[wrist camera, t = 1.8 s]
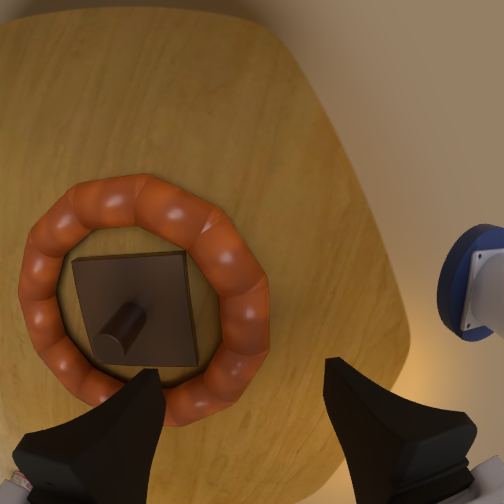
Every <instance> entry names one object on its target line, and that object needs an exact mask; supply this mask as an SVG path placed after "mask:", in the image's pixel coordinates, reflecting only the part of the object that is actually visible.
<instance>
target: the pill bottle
mask: <svg viewBox="0 0 504 504" xmlns="http://www.w3.org/2000/svg"><path fill="white" fill-rule="evenodd" d="M9 481H12V482H14V483H16V484H18V485H20V486H23V487H24V488H26V489H27V490H29V491H31V489H32V488H33V486H32V485H31V484H30V482H29V481H28V480H27V479H26V477H25V476H24V475H23V474H22V473H21V472H18V471H16V472H14V474H13V475H12V477H11V479H10V480H9Z"/></svg>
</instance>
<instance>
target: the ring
mask: <svg viewBox="0 0 504 504" xmlns="http://www.w3.org/2000/svg"><path fill="white" fill-rule="evenodd" d="M129 226H139V227H141V228H143V229H145V230H147V231H149V232H151V233H153V234H155V235H157V236H159V237H161V238H163V239H165V240H167V241H169V242H171V243H173V244H175V245H177V246H179V247H181V248H183V249H185V250H187V251H188V253H189V254H190V256H191V257H192V259H193V260H194V261H195V263H196V264H197V266H198V267H199V268H200V270H201V271H202V273H203V274H204V275H205V277H206V278H207V280H208V281H209V282H210V284H211V285H212V287H213V288H214V289H215V291H216V292H217V293H218V296H219V306H220V316H221V326H222V336H223V340H222V342H221V344H220V346H219V347H218V349H217V351H216V353H215V355H214V357H213V358H212V360H211V362H210V364H209V366H208V367H207V369H206V371H205V372H204V373H202V374H200V375H198V376H196V377H194V378H192V379H190V380H188V381H186V382H184V383H182V384H180V385H178V386H176V387H174V388H172V389H164V388H162V389H163V392H164V396H165V400H166V403H167V405H166V412H165V419H164V424H163V426H173V427H182V426H186V425H188V424H191V423H193V422H196V421H198V420H200V419H203V418H205V417H207V416H209V415H212V414H214V413H216V412H218V411H221V410H223V409H225V408H227V407H229V406H231V405H233V404H235V403H236V402H237V401H238V400H239V398H240V397H241V395H242V394H243V392H244V391H245V389H246V388H247V386H248V385H249V383H250V382H251V380H252V379H253V377H254V376H255V374H256V372H257V371H258V369H259V368H260V366H261V365H262V363H263V362H264V360H265V358H266V357H267V355H268V353H269V350H270V316H269V289H268V279H267V276H266V274H265V272H264V270H263V269H262V267H261V266H260V264H259V263H258V261H257V260H256V258H255V257H254V255H253V254H252V252H251V251H250V250H249V248H248V247H247V245H246V244H245V242H244V241H243V239H242V238H241V236H240V235H239V233H238V232H237V230H236V229H235V227H234V226H233V224H232V223H231V221H230V220H229V218H228V217H227V215H226V214H225V213H224V211H223V210H221V209H220V208H219V207H217V206H216V205H214V204H212V203H210V202H208V201H206V200H203V199H201V198H199V197H197V196H195V195H193V194H191V193H189V192H187V191H185V190H183V189H181V188H179V187H176V186H174V185H172V184H170V183H168V182H166V181H164V180H162V179H160V178H158V177H155V176H153V175H150V174H136V175H128V176H121V177H114V178H107V179H101V180H95V181H88V182H83V183H79V184H76V185H74V186H73V187H71V188H70V189H69V190H68V191H67V192H66V193H65V194H64V195H63V196H62V197H61V198H60V199H59V200H58V201H57V202H56V203H55V204H54V205H53V206H52V207H51V208H50V209H49V210H48V211H47V212H46V213H45V214H44V215H43V216H42V217H41V219H40V220H39V221H38V222H37V223H36V224H35V225H34V226H33V227H32V229H31V230H30V232H29V234H28V238H27V242H26V247H25V252H24V257H23V262H22V267H21V273H20V279H19V285H18V296H19V300H20V304H21V308H22V312H23V315H24V319H25V322H26V325H27V328H28V332H29V335H30V338H31V341H32V344H33V347H34V349H35V351H36V352H37V354H38V355H39V356H40V358H41V359H42V360H43V361H44V363H45V364H46V365H47V366H48V368H49V369H50V370H51V371H52V372H53V374H54V375H55V376H56V377H57V378H58V379H59V381H60V382H61V383H62V384H63V385H64V386H65V387H66V389H67V390H68V391H69V392H70V393H71V394H72V395H73V396H75V397H76V398H78V399H80V400H81V401H83V402H85V403H87V404H89V405H90V406H92V407H94V408H95V407H97V406H98V405H100V404H101V403H103V402H104V401H106V400H107V399H108V398H109V397H111V396H112V395H113V394H115V393H116V392H117V391H119V390H120V389H121V388H122V387H123V386H124V385H126V384H124V383H122V382H120V381H118V380H117V379H115V378H113V377H111V376H109V375H107V374H105V373H103V372H101V371H99V370H98V369H96V368H94V367H93V366H92V365H91V364H90V363H89V362H88V360H87V359H86V358H85V357H84V356H83V354H82V353H81V352H80V351H79V349H78V348H77V347H76V346H75V345H74V343H73V342H72V341H71V339H70V338H69V337H68V336H67V334H66V332H65V329H64V325H63V322H62V318H61V314H60V311H59V307H58V303H57V298H56V294H55V291H56V287H57V282H58V278H59V274H60V270H61V266H62V262H63V259H64V255H65V254H66V253H67V252H69V251H70V250H71V249H72V248H73V247H74V246H75V245H76V244H77V243H78V242H80V241H81V240H82V239H83V238H84V237H85V236H86V235H88V234H89V233H90V232H91V231H92V230H97V229H107V228H118V227H129Z"/></svg>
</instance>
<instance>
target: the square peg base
mask: <svg viewBox="0 0 504 504" xmlns="http://www.w3.org/2000/svg"><path fill="white" fill-rule="evenodd" d="M71 263H72V269H73V274H74V279H75V284H76V289H77V294H78V298H79V303H80V307H81V311H82V315H83V319H84V323H85V327H86V331H87V334H88V338H89V342H90V345H91V348H92V352H93V355H94V358H95V361H96V363H97V364H110V365H128V366H160V367H197V366H198V362H199V355H198V348H197V342H196V335H195V328H194V320H193V313H192V305H191V298H190V289H189V281H188V272H187V263H186V253H185V251H174V252H159V253H143V254H127V255H112V256H97V257H82V258H76V259H75V260H73V261H71Z"/></svg>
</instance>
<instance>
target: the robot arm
mask: <svg viewBox="0 0 504 504" xmlns="http://www.w3.org/2000/svg"><path fill="white" fill-rule="evenodd" d="M478 256H479V257H478ZM484 325H485V326H486V327H488V328H489V329H491V330H492V331H494V332H495V333H496V334H498V335H499V336H501V337H502V338H504V248H498V249H487V250H477V251H473V252H472V254H471V260H470V268H469V276H468V283H467V290H466V296H465V301H464V307H463V312H462V317H461V322H460V330H462V331H466V330H469V329H473V328H477V327H480V326H484ZM323 397H324V401H325V405H326V409H327V413H328V415H329V418H330V420H331V423H332V425H333V428H334V430H335V432H336V435H337V437H338V440H339V442H340V444H341V447H342V449H343V452H344V455H345V457H346V461H347V465H348V468H349V472H350V476H351V480H352V484H353V489H354V493H355V498H356V503H357V504H504V463H503V462H502V461H501V460H500V458H499V457H498V456H497V455H496V456H493V457H492V458H490V459H488V460H486V461H484V462H483V463H481V464H479V465H477V466H476V467H475V468H473V469H472V470H471V471H469V470H468V468H467V467H466V466H468V464H469V461H468V460H467V458H466V457H465V456H466V454H467V453H468V451H469V449H470V448H471V446H472V444H473V442H474V440H475V438H476V435H477V427H476V425H475V424H474V423H473V421H472V420H471V419H470V418H469V417H468V416H467V414H465V412H459V411H450V410H443V409H437V408H433V407H429V406H425V405H422V404H418V403H416V402H413V401H410V400H407V399H405V398H402V397H400V396H398V395H396V394H394V393H392V392H390V391H388V390H386V389H384V388H383V387H381V386H379V385H378V384H376V383H374V382H373V381H371V380H370V379H368V378H367V377H365V376H364V375H362V374H361V373H360V372H358V371H357V370H356V369H354V368H353V367H352V366H350V365H349V364H348V363H347V362H345V361H344V360H343V359H341V358H340V357H335V358H328V359H325V374H324V387H323ZM166 405H167V403H166V400H165V396H164V392H163V389H162V385H161V381H160V377H159V373H158V369H147V368H144V369H143V370H142V371H141V372H139V373H138V374H137V375H136V376H135V377H134V378H132V379H131V380H130V381H129V382H128V383H127V384H126V385H124V386H123V387H122V388H121V389H120V390H119V391H117V392H116V393H115V394H113V395H112V396H111V397H109V398H108V399H107V400H106V401H104V402H103V403H101V404H100V405H98V406H97V407H95V408H94V409H92V410H90V411H89V412H87V413H85V414H83V415H81V416H79V417H77V418H75V419H73V420H71V421H69V422H66V423H64V424H61V425H58V426H55V427H52V428H49V429H46V430H41V431H37V432H32V433H27V434H25V435H24V437H23V438H22V439H21V441H20V442H19V444H18V445H17V447H16V448H15V450H14V451H13V453H12V457H13V460H14V462H15V464H16V466H17V467H18V469H19V470H20V471H21V472H22V474H23V475H24V476H25V477H26V479H27V480H28V481H29V482H30V484H31V485H32V486H33V488H32V489H31V491H29V490H27V489H26V488H24V487H23V486H20V485H18V484H16V483H14V482H12V481H9V480H7V479H4V481H3V483H2V484H1V486H0V504H146V499H147V490H148V482H149V475H150V469H151V464H152V460H153V457H154V453H155V450H156V447H157V444H158V440H159V437H160V434H161V431H162V427H163V424H164V419H165V412H166Z"/></svg>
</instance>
